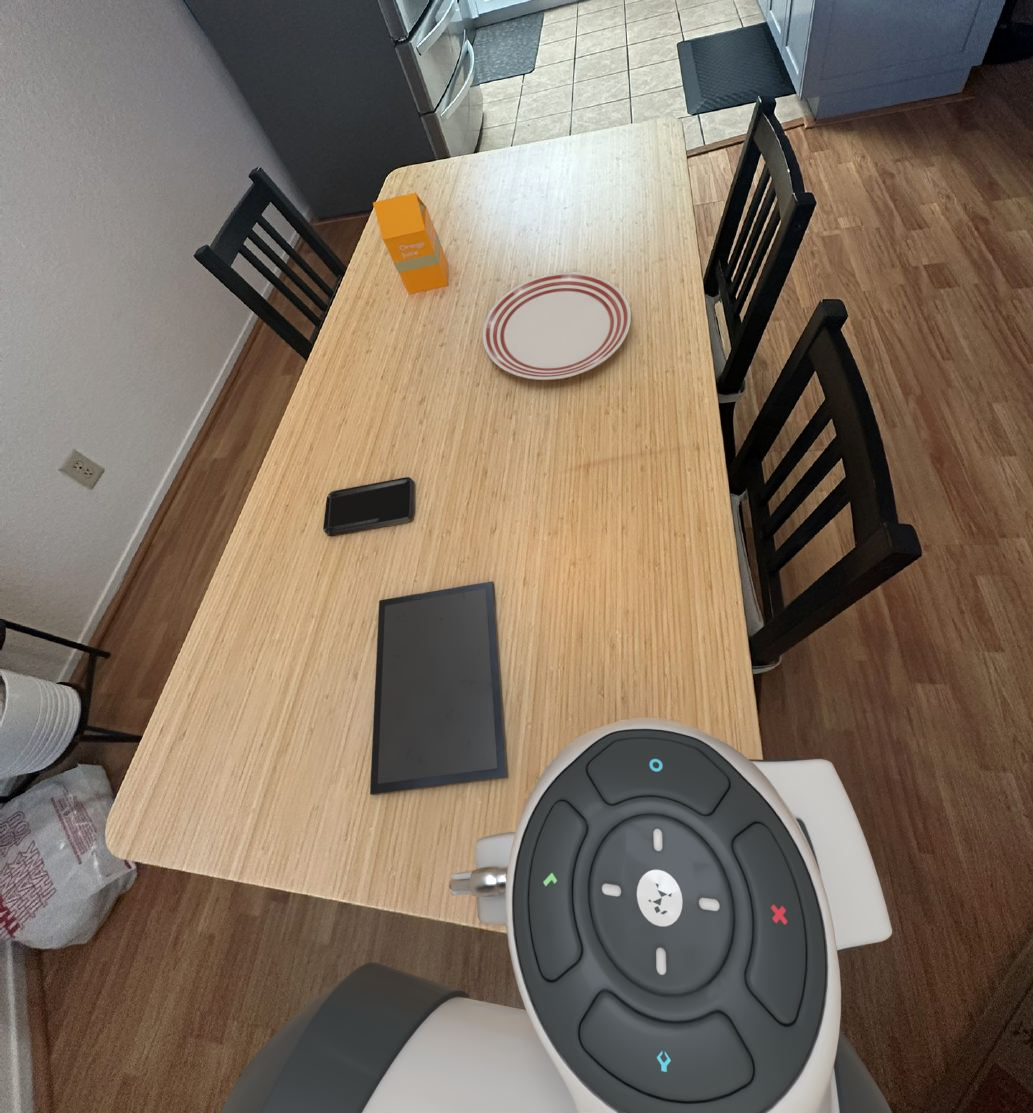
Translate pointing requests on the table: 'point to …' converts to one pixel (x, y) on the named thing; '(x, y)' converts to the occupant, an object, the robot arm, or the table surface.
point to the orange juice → (412, 242)
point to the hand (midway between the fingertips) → (662, 852)
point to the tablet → (438, 691)
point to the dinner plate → (556, 326)
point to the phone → (370, 506)
